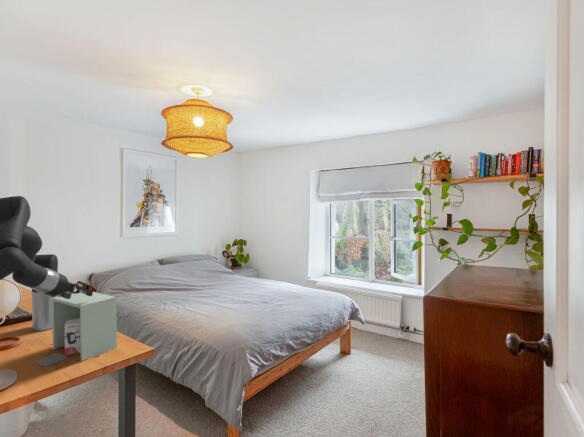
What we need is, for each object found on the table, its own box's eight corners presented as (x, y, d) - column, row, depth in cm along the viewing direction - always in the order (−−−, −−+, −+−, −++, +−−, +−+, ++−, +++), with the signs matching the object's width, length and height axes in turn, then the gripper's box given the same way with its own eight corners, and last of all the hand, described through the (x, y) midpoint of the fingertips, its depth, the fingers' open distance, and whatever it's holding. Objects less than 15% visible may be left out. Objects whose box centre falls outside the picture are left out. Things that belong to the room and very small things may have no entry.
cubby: (53, 348, 126) (52, 297, 125) (87, 337, 137) (86, 290, 136) (82, 361, 116) (81, 305, 115) (116, 347, 127) (116, 297, 127)
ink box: (64, 356, 120) (64, 324, 120) (65, 350, 124) (64, 320, 124) (91, 350, 125) (91, 320, 124) (91, 345, 129) (90, 316, 128)
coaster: (35, 362, 115) (35, 360, 115) (57, 354, 121) (57, 353, 121) (45, 366, 112) (45, 365, 112) (67, 358, 118) (67, 357, 118)
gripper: (70, 268, 109) (101, 283, 123) (30, 273, 110) (65, 287, 124) (64, 290, 105) (96, 302, 119) (23, 295, 106) (60, 307, 120)
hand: (80, 295), depth 121 cm, fingers open, 8 cm apart
